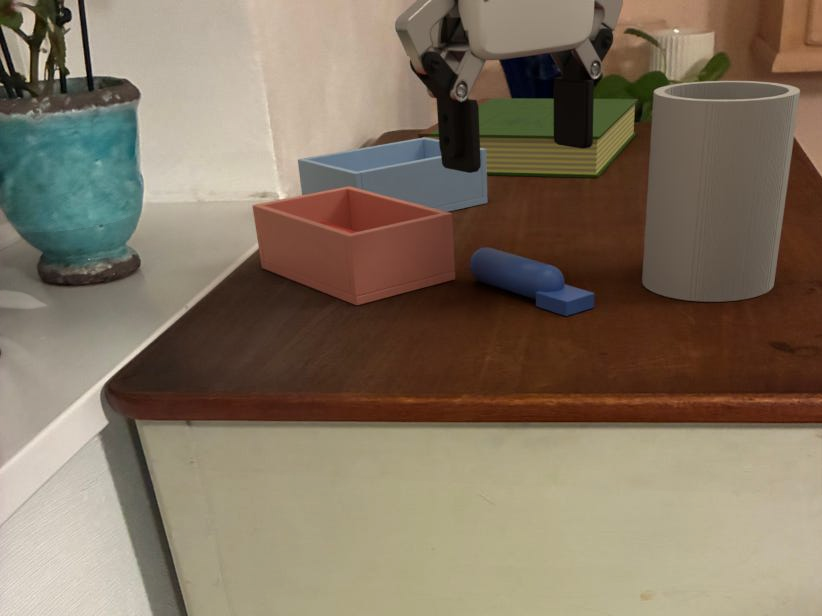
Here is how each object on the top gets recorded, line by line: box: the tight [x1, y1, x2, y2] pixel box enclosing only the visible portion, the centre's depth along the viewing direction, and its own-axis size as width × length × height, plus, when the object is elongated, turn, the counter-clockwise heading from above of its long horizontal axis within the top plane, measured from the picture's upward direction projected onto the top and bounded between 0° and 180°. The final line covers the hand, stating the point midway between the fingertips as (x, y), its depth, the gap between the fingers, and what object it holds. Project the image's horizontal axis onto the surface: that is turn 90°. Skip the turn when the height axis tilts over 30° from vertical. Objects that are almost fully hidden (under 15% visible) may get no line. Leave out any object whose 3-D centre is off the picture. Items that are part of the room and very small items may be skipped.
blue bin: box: [297, 137, 488, 213], centre depth 92 cm, size 14×9×5 cm, turn 130°
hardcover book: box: [417, 97, 638, 179], centre depth 111 cm, size 25×19×4 cm
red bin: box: [251, 186, 456, 306], centre depth 75 cm, size 13×9×5 cm, turn 40°
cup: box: [641, 80, 801, 303], centre depth 68 cm, size 9×9×12 cm
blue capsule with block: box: [469, 247, 595, 317], centre depth 70 cm, size 11×3×2 cm, turn 40°
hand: (519, 157), depth 66 cm, fingers open, 9 cm apart
